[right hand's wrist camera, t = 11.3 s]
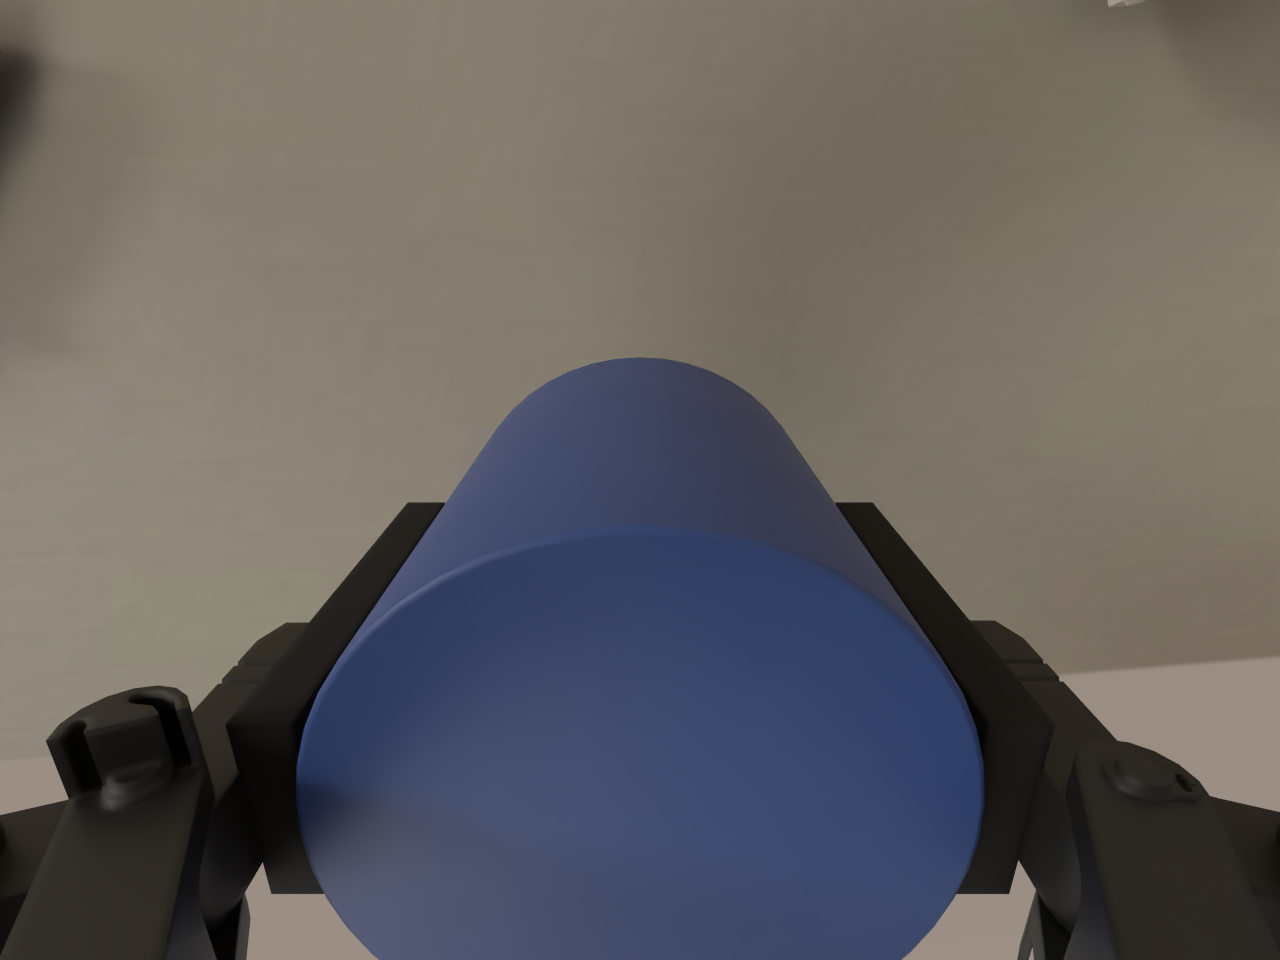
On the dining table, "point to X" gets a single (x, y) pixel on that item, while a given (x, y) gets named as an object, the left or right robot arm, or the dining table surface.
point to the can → (640, 706)
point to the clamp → (1123, 3)
